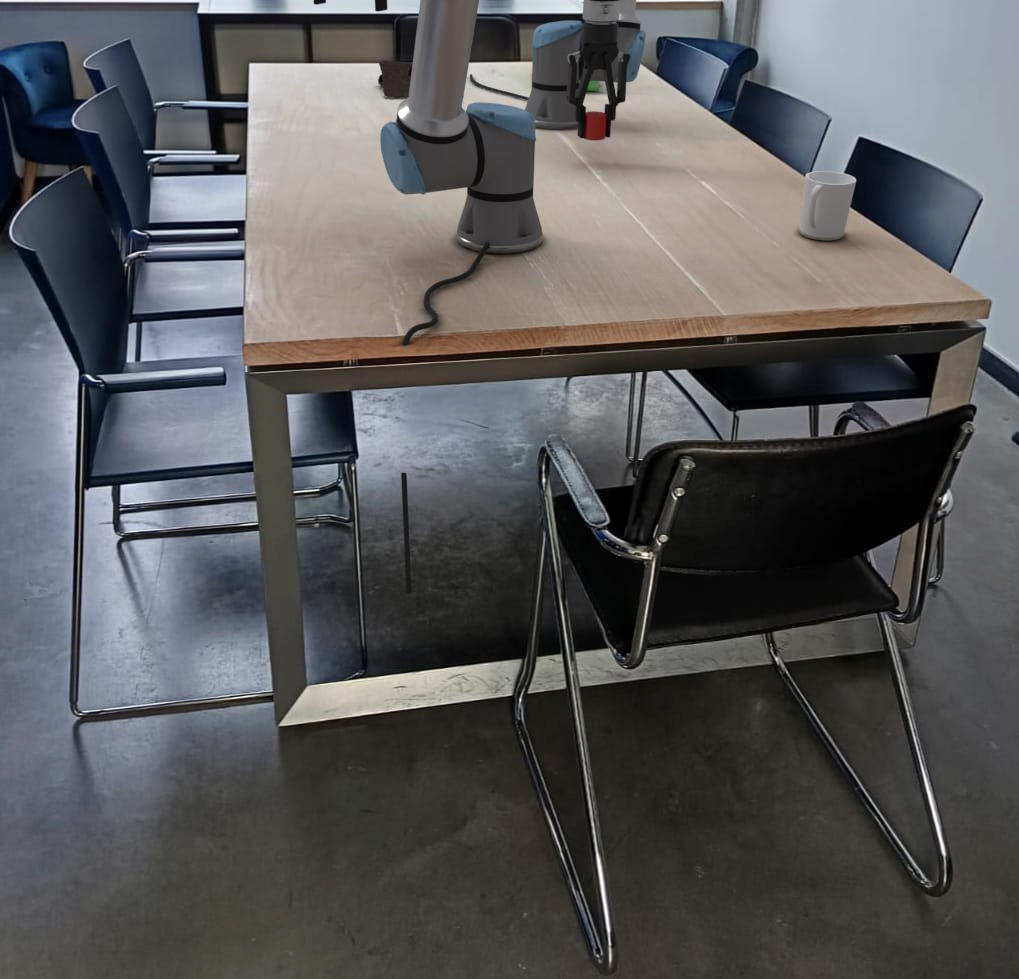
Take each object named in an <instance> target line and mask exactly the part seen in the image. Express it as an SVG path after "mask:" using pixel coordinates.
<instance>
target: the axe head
mask: <svg viewBox="0 0 1019 979" xmlns="http://www.w3.org/2000/svg"><path fill="white" fill-rule="evenodd" d="M378 66H379V68H380V72H381V74H379V75H378V79H377V84H378V85H379V86H380V87H381V88H382V89H383V95H384V96H385V97H388V98H394V99H395V98H396V99H403V98H404V99H407V98H408V97H409V90H410V82H411V74H412V66H413V62H410V61H408V62H407V61H397V60H388V59H387V60H380V61H379V62H378Z"/></svg>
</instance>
